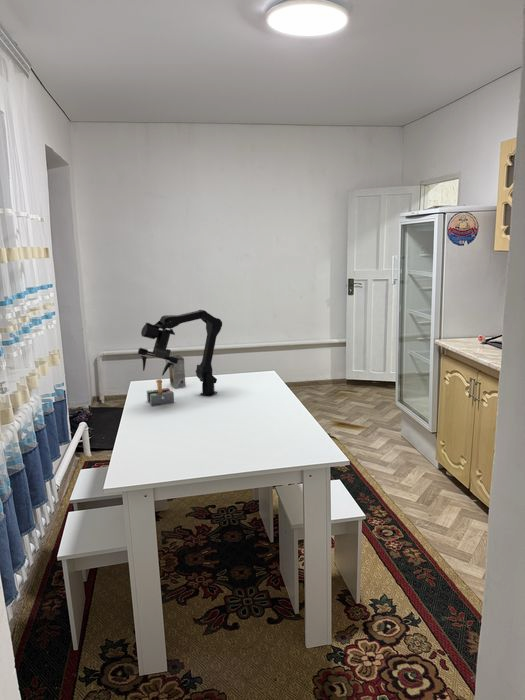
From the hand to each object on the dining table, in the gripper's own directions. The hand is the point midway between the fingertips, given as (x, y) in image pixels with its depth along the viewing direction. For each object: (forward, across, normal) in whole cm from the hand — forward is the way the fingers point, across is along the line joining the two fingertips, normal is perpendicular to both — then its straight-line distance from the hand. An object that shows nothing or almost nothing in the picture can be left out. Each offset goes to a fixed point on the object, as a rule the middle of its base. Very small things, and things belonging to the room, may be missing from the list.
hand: (153, 373), depth 249 cm
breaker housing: (+13, +8, +6) cm, 17 cm away
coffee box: (+7, +18, +31) cm, 37 cm away
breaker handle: (+11, +7, +6) cm, 14 cm away
